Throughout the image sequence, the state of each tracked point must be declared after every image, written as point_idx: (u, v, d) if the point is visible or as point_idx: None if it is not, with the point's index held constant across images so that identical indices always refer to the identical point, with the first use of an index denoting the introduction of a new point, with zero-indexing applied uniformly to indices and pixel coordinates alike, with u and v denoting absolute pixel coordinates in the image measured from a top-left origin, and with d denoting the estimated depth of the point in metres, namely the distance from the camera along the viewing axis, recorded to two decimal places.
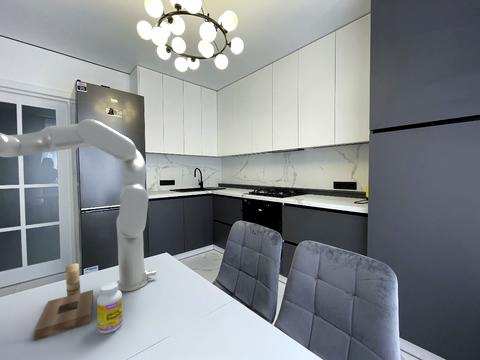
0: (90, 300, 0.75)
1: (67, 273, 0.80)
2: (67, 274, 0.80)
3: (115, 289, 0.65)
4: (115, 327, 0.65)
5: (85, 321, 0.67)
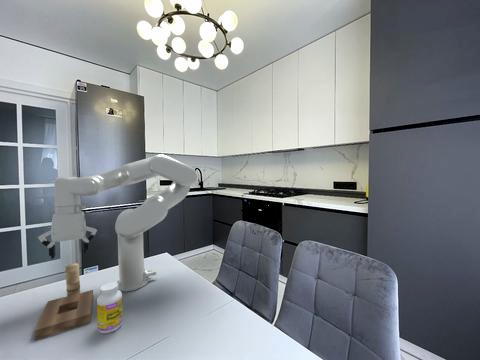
0: (90, 300, 0.75)
1: (67, 273, 0.80)
2: (67, 274, 0.80)
3: (115, 289, 0.65)
4: (115, 327, 0.65)
5: (85, 321, 0.67)
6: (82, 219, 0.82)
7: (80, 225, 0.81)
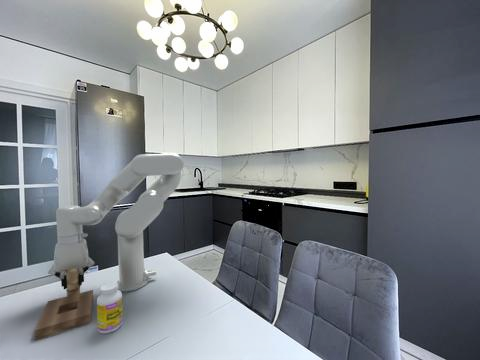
0: (90, 300, 0.75)
1: (67, 273, 0.80)
2: (67, 274, 0.80)
3: (115, 289, 0.65)
4: (115, 327, 0.65)
5: (85, 321, 0.67)
6: (84, 247, 0.82)
7: (82, 253, 0.82)
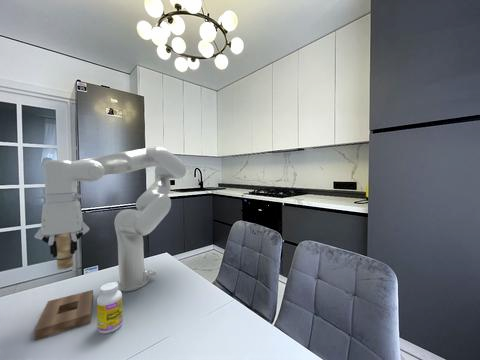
0: (90, 300, 0.75)
1: (57, 238, 0.68)
2: (57, 239, 0.68)
3: (115, 289, 0.65)
4: (115, 327, 0.65)
5: (85, 321, 0.67)
6: (78, 209, 0.70)
7: (75, 216, 0.70)
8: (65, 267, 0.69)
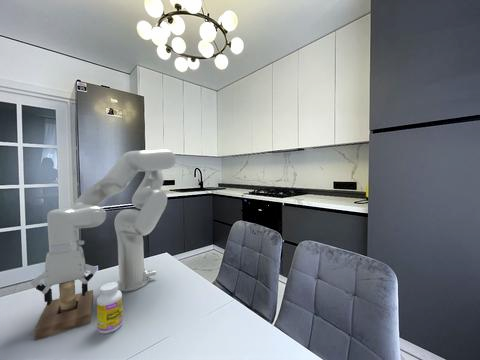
0: (90, 300, 0.75)
1: (61, 290, 0.69)
2: (61, 291, 0.69)
3: (115, 289, 0.65)
4: (115, 327, 0.65)
5: (85, 321, 0.67)
6: (80, 257, 0.71)
7: (78, 264, 0.71)
8: None
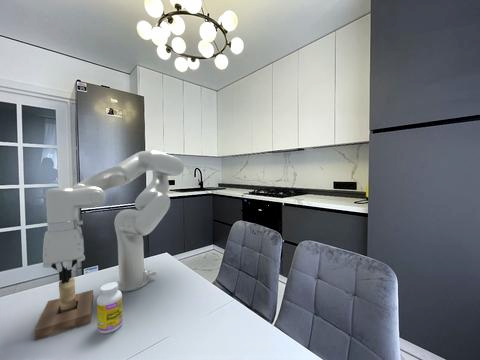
0: (90, 300, 0.75)
1: (61, 290, 0.69)
2: (61, 291, 0.69)
3: (115, 289, 0.65)
4: (115, 327, 0.65)
5: (85, 321, 0.67)
6: (79, 236, 0.71)
7: (77, 243, 0.70)
8: None
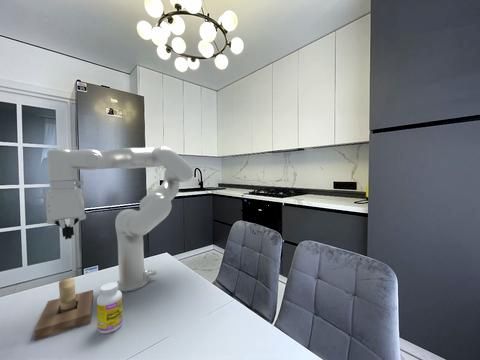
0: (90, 300, 0.75)
1: (61, 290, 0.69)
2: (61, 291, 0.69)
3: (115, 289, 0.65)
4: (115, 327, 0.65)
5: (85, 321, 0.67)
6: (80, 195, 0.75)
7: (78, 202, 0.75)
8: None
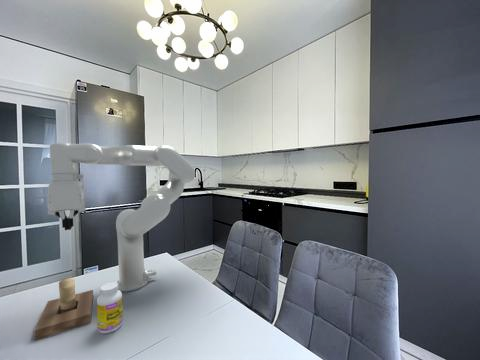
0: (90, 300, 0.75)
1: (61, 290, 0.69)
2: (61, 291, 0.69)
3: (115, 289, 0.65)
4: (115, 327, 0.65)
5: (85, 321, 0.67)
6: (80, 188, 0.78)
7: (78, 194, 0.77)
8: None
